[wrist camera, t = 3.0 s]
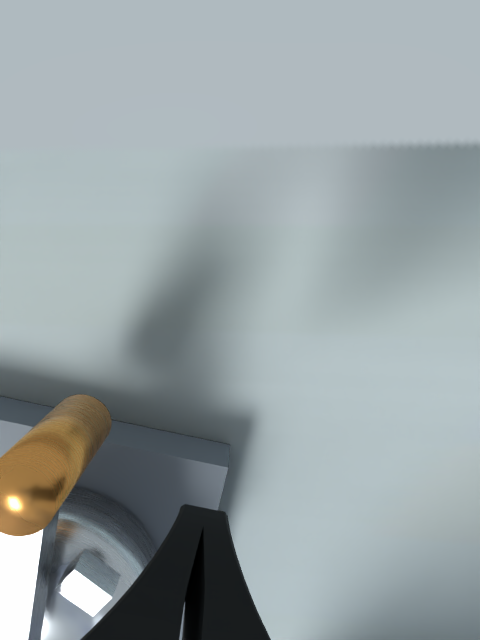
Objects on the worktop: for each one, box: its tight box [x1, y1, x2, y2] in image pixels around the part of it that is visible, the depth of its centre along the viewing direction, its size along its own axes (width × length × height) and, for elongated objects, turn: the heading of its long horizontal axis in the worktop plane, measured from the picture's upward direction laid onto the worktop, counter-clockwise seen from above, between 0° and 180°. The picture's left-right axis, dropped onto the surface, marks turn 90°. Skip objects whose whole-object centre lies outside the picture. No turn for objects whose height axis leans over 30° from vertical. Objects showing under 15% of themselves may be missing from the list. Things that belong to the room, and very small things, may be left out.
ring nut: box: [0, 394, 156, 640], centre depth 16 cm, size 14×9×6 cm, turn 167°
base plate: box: [0, 396, 230, 640], centre depth 20 cm, size 13×14×2 cm
